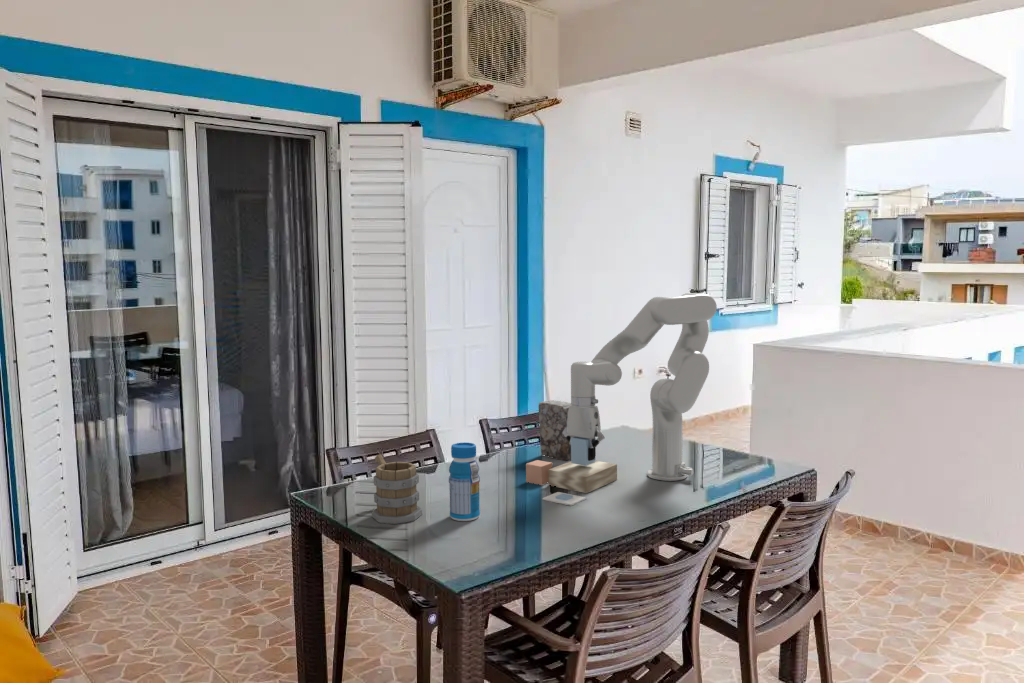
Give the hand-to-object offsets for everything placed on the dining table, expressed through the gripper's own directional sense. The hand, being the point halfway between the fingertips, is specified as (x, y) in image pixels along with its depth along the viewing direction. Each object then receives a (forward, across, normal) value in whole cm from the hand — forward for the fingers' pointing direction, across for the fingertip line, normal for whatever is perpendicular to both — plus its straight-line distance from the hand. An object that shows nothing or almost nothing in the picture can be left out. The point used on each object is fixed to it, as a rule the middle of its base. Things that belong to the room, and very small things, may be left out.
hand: (583, 457), depth 235 cm
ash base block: (+8, 0, 0) cm, 8 cm away
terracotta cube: (+8, +12, +7) cm, 16 cm away
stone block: (+8, +25, -22) cm, 34 cm away
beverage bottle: (+8, +8, +47) cm, 48 cm away
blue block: (+2, 0, 0) cm, 2 cm away
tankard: (+8, +27, +56) cm, 63 cm away
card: (+8, -5, +18) cm, 20 cm away
